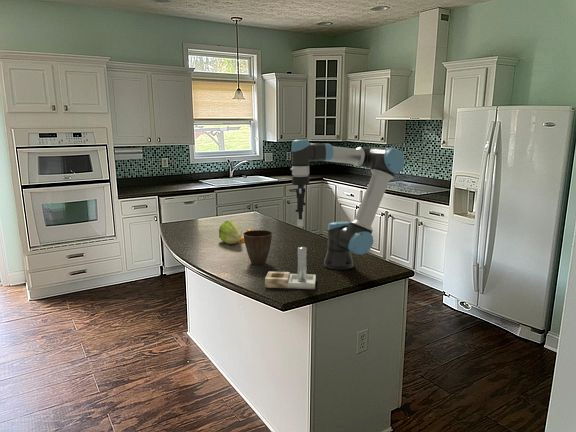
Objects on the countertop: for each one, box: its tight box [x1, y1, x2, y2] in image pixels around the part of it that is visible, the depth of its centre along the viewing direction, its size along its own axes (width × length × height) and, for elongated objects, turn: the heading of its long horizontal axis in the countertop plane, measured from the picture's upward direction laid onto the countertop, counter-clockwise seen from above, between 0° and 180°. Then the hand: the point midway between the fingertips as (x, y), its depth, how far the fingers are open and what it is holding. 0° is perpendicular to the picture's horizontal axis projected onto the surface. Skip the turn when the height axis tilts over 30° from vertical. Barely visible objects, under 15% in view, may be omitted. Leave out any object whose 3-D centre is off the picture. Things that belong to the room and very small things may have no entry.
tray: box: [287, 273, 317, 290], centre depth 193 cm, size 12×12×2 cm
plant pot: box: [242, 229, 273, 266], centre depth 222 cm, size 15×15×16 cm
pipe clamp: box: [236, 229, 252, 244], centre depth 266 cm, size 12×4×6 cm, turn 136°
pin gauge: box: [297, 246, 308, 283], centre depth 192 cm, size 4×4×16 cm
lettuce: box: [218, 220, 243, 245], centre depth 258 cm, size 13×22×14 cm, turn 29°
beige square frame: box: [264, 271, 291, 289], centre depth 193 cm, size 10×10×4 cm
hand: (300, 222), depth 191 cm, fingers open, 13 cm apart
